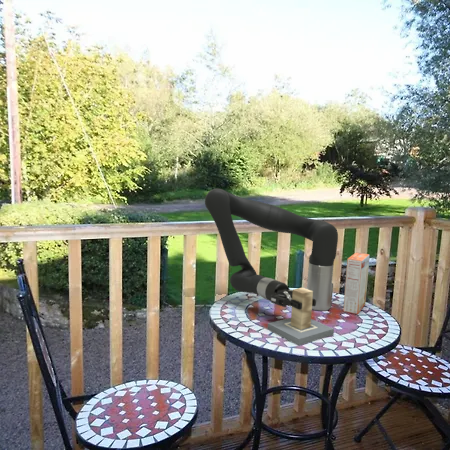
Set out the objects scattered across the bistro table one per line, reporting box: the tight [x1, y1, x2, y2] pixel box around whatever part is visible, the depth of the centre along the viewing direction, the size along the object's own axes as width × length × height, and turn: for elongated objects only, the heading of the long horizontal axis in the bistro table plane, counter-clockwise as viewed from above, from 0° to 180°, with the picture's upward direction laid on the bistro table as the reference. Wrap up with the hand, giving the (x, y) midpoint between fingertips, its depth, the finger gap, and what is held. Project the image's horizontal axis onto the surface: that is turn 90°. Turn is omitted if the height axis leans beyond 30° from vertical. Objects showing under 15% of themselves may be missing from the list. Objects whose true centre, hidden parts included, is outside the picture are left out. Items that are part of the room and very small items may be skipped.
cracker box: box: [342, 252, 370, 315], centre depth 156 cm, size 14×6×21 cm, turn 150°
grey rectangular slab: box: [267, 317, 335, 346], centre depth 131 cm, size 16×14×2 cm
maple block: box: [290, 287, 313, 330], centre depth 130 cm, size 4×4×12 cm
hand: (308, 304), depth 128 cm, fingers open, 6 cm apart
